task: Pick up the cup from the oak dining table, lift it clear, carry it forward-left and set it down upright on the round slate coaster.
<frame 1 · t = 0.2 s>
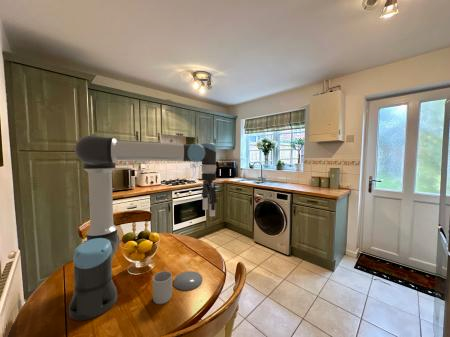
hand: (208, 212, 101), 28 cm above the table, fingers open, 13 cm apart
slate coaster: (188, 280, 87), on the table
cup: (163, 295, 78), on the table
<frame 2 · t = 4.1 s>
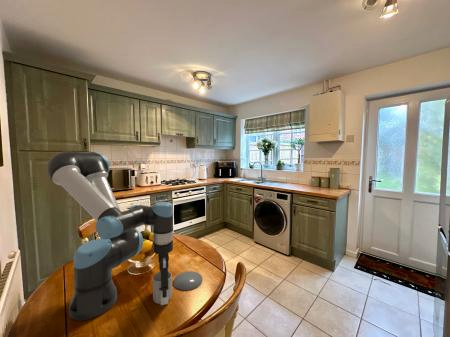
hand: (163, 294, 78), 0 cm above the table, fingers closed on cup, 10 cm apart
cup: (163, 295, 78), on the table, touching gripper
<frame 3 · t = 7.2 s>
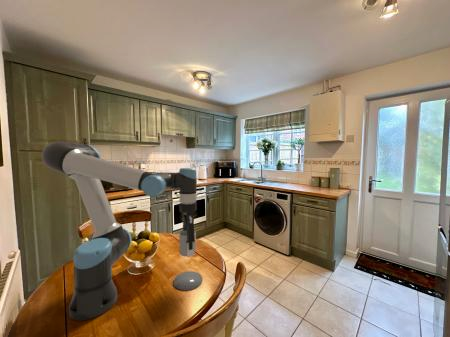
hand: (188, 250, 86), 14 cm above the table, fingers closed on cup, 10 cm apart
cup: (188, 251, 87), point 14 cm above the table, touching gripper
when the fingers open (2 cm above the table, at t = 10.1 s): cup drops 1 cm, resting on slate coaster.
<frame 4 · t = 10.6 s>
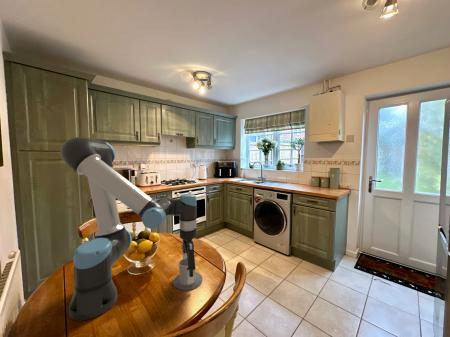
hand: (188, 273, 87), 3 cm above the table, fingers open, 13 cm apart
cup: (188, 279, 87), resting on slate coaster
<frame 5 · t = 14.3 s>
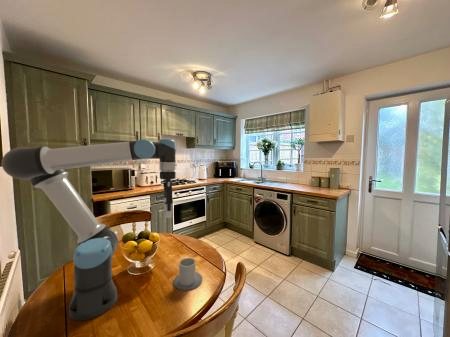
hand: (167, 213, 94), 29 cm above the table, fingers open, 13 cm apart
nothing on the table moved.
at the end: cup 0.1 cm from the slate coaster (horizontally); cup tilted 0°; cup resting on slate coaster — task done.
